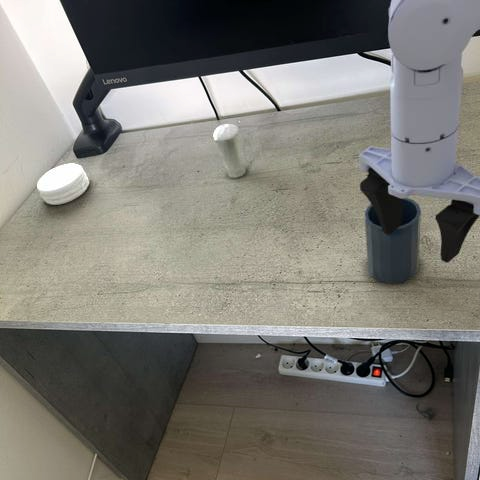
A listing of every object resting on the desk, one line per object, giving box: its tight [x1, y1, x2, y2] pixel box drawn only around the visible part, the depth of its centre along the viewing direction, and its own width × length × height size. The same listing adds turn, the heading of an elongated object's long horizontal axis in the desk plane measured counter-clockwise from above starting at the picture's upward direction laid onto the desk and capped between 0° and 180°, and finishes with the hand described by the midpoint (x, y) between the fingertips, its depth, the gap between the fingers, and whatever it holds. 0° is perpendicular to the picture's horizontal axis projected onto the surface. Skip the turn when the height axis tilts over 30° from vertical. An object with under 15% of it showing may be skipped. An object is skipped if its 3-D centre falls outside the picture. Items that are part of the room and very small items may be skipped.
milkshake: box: [213, 120, 246, 179], centre depth 86 cm, size 5×5×10 cm
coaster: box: [36, 163, 90, 206], centre depth 100 cm, size 10×10×4 cm
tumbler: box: [364, 197, 422, 285], centre depth 62 cm, size 6×6×9 cm
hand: (419, 242), depth 54 cm, fingers open, 7 cm apart
